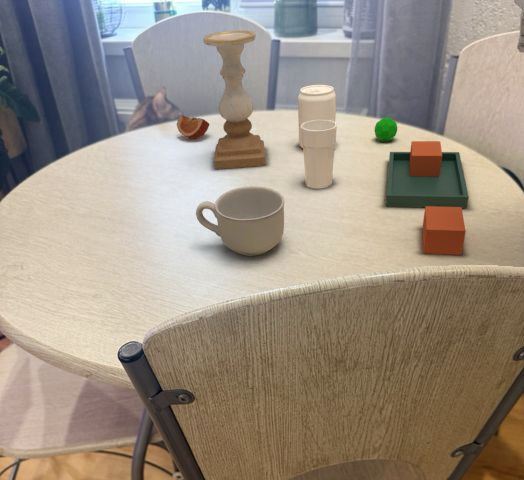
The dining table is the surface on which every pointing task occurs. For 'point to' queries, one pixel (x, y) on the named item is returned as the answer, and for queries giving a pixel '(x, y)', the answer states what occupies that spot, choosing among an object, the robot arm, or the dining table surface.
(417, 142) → the orange rectangular block
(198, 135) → the fruit slice
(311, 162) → the cup
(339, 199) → the dining table surface
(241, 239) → the teacup
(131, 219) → the dining table surface
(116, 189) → the dining table surface
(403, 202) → the tray
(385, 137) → the polyhedron
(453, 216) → the orange block
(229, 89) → the candle holder
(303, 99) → the beverage can
